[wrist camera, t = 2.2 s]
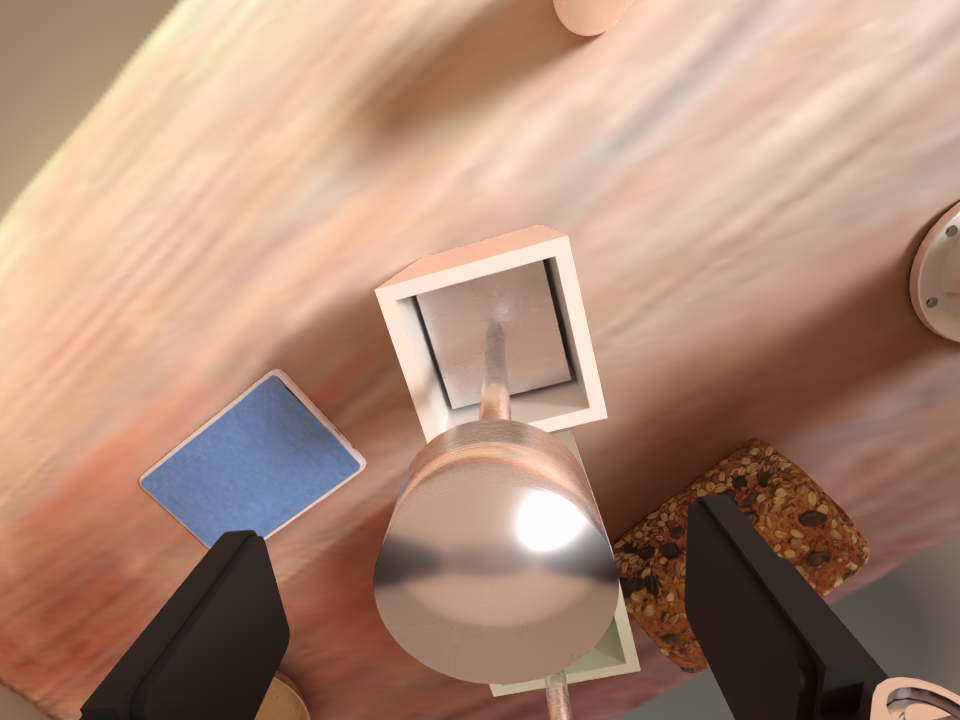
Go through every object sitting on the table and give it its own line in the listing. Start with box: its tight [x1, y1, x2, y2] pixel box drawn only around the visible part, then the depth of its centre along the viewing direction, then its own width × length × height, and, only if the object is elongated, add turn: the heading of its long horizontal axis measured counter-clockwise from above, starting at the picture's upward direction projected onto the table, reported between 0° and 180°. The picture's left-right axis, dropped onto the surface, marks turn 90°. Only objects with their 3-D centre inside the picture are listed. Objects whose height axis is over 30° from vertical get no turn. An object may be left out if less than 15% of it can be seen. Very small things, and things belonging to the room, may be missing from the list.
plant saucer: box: [254, 670, 310, 720], centre depth 55 cm, size 15×15×3 cm
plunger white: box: [374, 260, 619, 684], centre depth 20 cm, size 8×8×21 cm
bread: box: [611, 439, 870, 673], centre depth 42 cm, size 19×11×10 cm, turn 134°
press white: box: [375, 224, 608, 443], centre depth 33 cm, size 10×10×16 cm
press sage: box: [489, 430, 641, 697], centre depth 38 cm, size 10×10×16 cm
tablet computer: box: [139, 369, 366, 549], centre depth 46 cm, size 19×13×1 cm, turn 128°
